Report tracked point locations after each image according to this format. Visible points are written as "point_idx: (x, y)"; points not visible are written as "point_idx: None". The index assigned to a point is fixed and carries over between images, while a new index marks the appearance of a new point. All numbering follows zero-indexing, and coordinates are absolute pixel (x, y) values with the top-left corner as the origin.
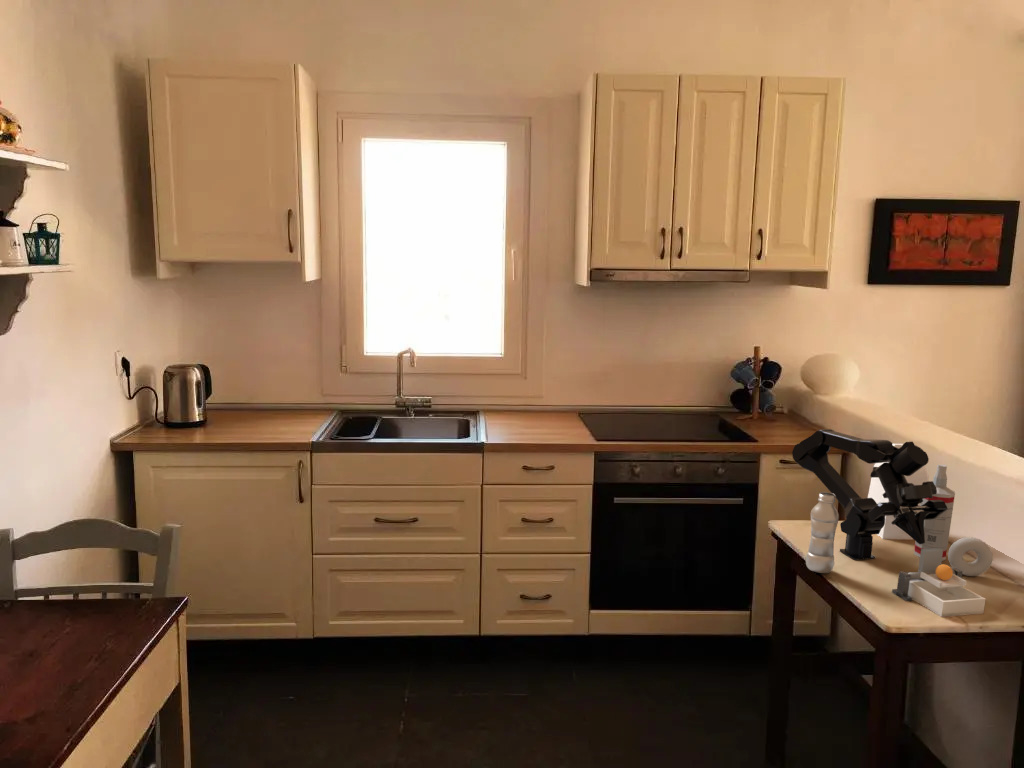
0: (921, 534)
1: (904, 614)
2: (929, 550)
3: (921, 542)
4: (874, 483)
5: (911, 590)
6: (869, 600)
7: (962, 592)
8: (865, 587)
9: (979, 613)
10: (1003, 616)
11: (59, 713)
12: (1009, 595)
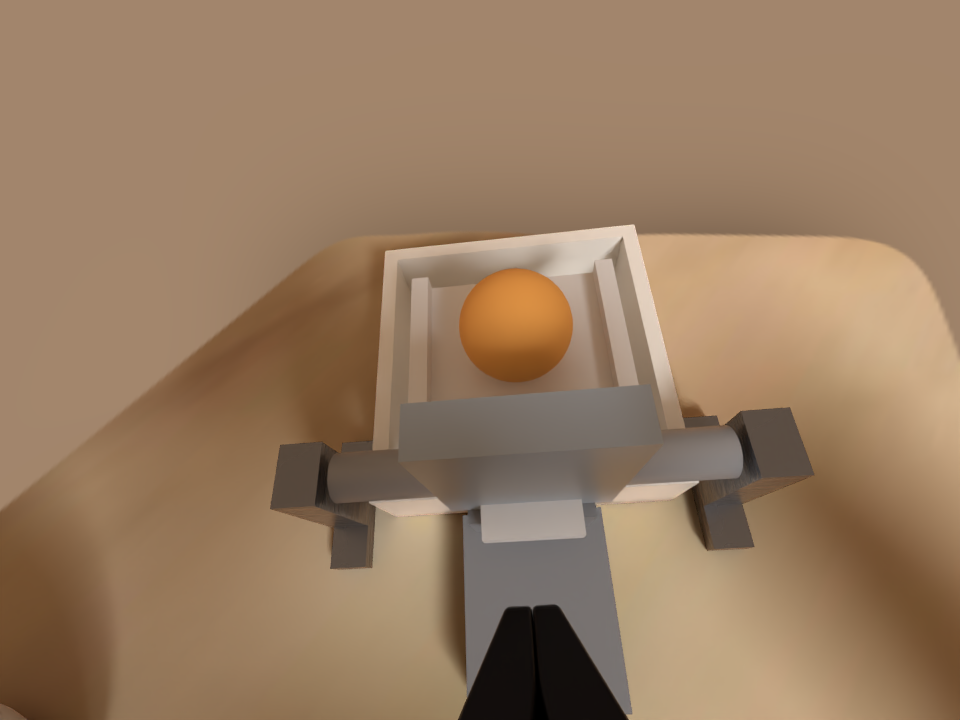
0: (533, 711)
1: (791, 300)
2: (580, 396)
3: (561, 611)
4: None
5: None
6: (943, 454)
7: (399, 376)
8: (916, 655)
9: None
10: (343, 270)
11: None
12: (106, 448)
